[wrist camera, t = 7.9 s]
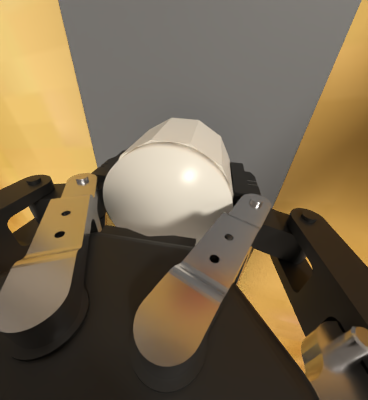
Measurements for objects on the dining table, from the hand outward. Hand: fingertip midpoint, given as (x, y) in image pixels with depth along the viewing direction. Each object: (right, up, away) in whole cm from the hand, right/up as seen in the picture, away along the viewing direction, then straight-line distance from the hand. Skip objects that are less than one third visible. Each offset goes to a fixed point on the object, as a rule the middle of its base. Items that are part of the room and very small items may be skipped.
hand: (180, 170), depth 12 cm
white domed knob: (0, 0, 0) cm, 1 cm away
